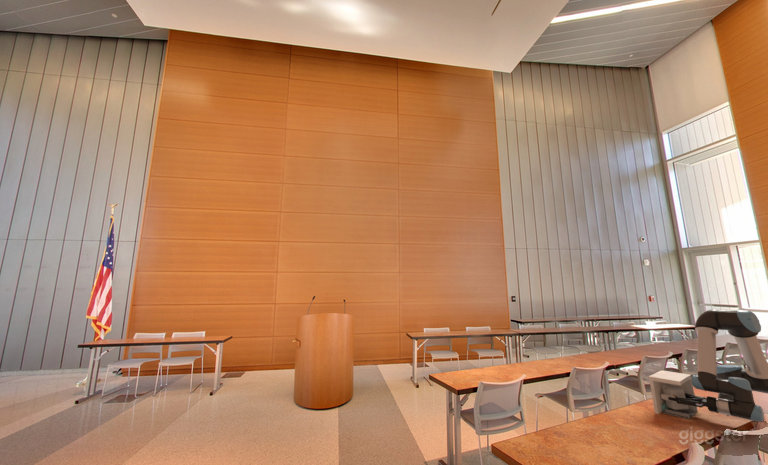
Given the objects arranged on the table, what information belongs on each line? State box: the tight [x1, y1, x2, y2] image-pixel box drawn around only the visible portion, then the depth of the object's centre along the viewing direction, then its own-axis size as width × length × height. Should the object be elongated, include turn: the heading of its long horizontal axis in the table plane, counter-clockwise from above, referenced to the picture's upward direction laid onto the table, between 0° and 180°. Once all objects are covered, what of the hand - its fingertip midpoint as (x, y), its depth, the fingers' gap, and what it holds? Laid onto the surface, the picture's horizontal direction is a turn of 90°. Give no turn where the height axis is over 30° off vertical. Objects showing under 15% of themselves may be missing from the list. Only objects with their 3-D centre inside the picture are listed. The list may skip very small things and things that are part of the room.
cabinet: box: [648, 369, 699, 420], centre depth 179 cm, size 14×24×20 cm, turn 125°
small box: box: [662, 387, 688, 410], centre depth 178 cm, size 8×6×10 cm
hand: (664, 394), depth 182 cm, fingers closed on small box, 9 cm apart
